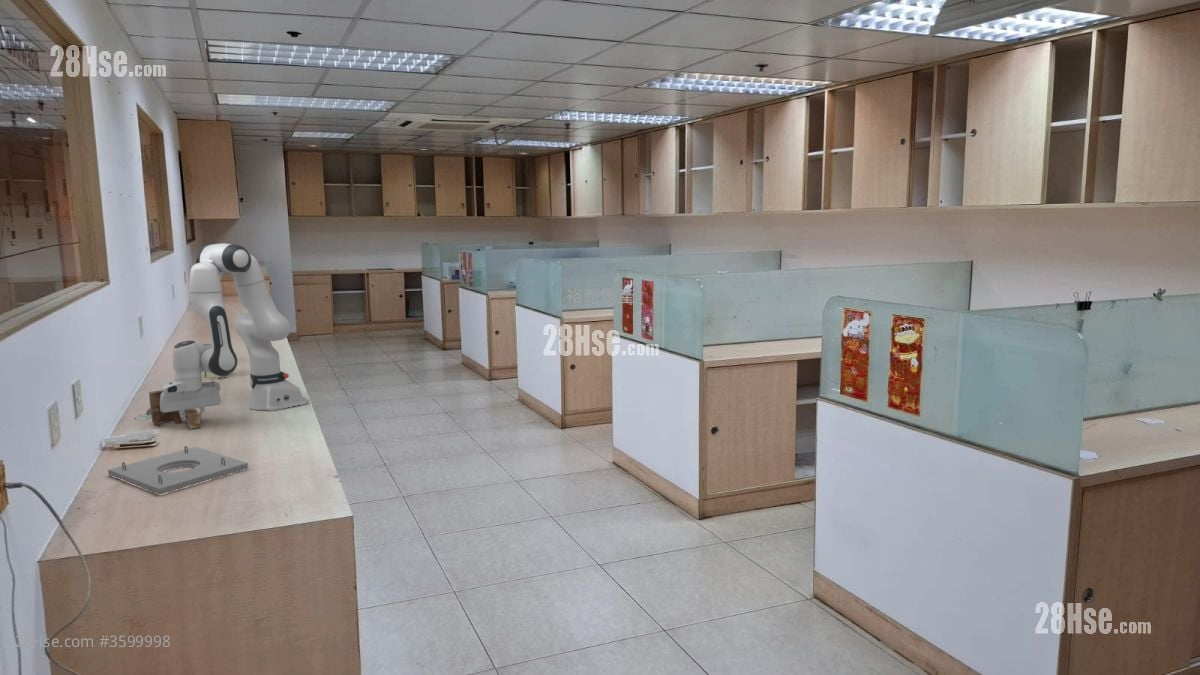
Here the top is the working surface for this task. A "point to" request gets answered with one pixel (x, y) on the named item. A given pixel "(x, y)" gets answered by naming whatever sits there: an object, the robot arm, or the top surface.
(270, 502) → the top surface
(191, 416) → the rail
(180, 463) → the mounting panel
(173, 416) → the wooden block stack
